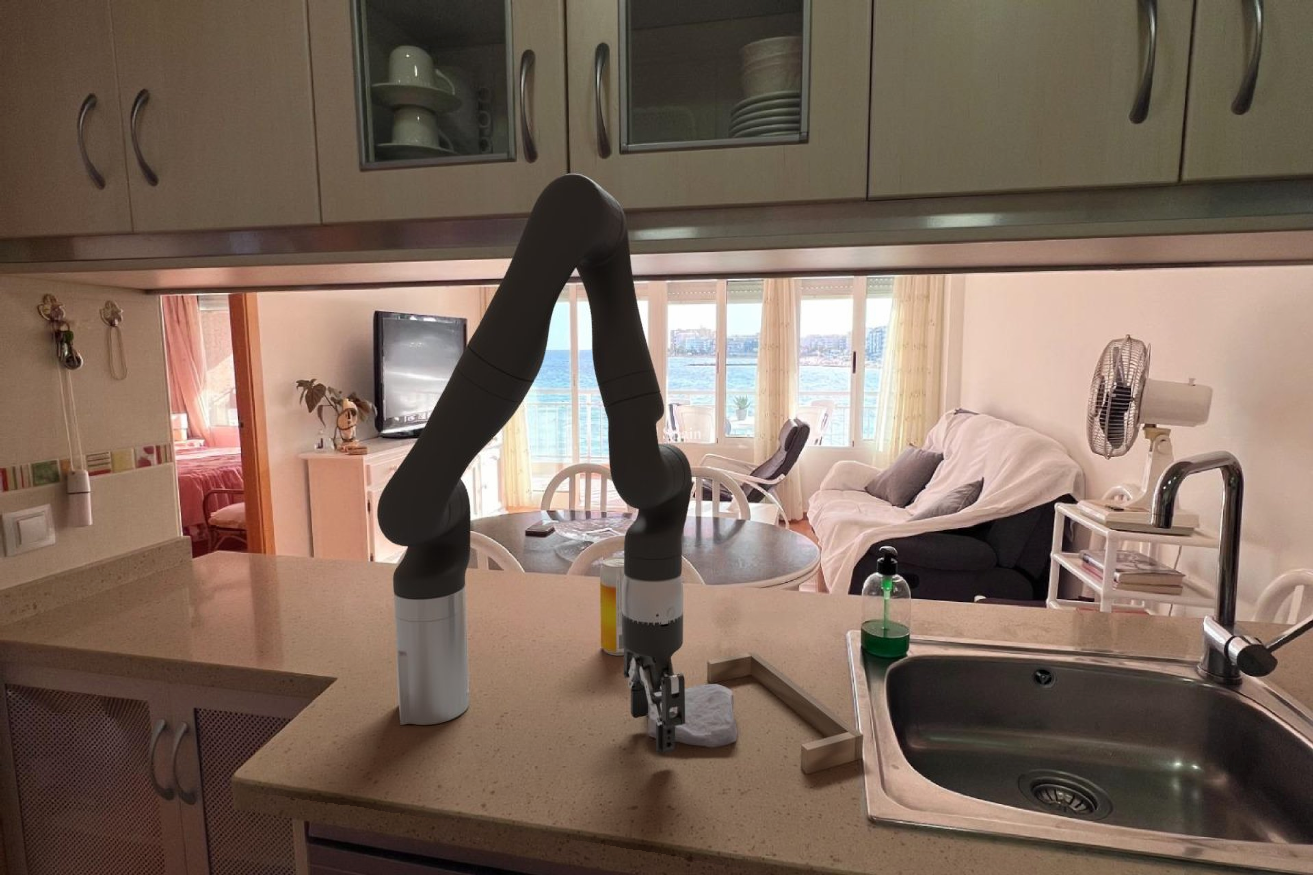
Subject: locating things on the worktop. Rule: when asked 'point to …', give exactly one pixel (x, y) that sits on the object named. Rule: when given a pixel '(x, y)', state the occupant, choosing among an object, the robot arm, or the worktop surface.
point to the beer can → (611, 605)
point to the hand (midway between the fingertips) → (651, 732)
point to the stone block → (703, 717)
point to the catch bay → (814, 755)
